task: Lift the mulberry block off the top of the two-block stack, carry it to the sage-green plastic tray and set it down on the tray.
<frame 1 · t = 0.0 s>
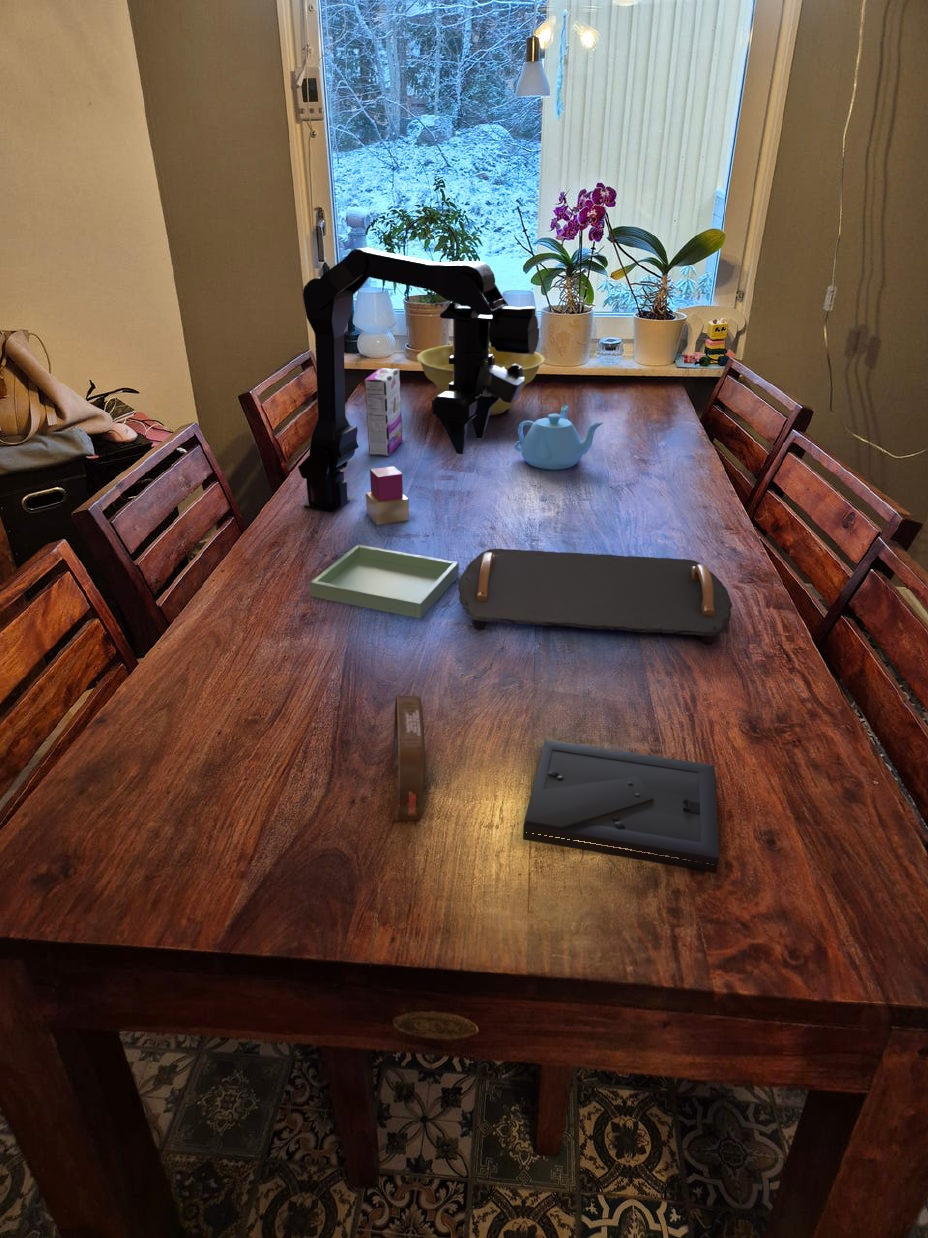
hand: (470, 445, 136), 15 cm above the table, tool pointing down, fingers open, 9 cm apart
mulberry block: (386, 495, 145), point 4 cm above the table, touching birch block
planter bowl: (479, 410, 212), on the table
serving tray: (590, 605, 119), on the table
teapot: (555, 463, 175), on the table
birch block: (387, 516, 147), on the table, touching mulberry block
candy bar box: (385, 449, 182), on the table
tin: (409, 788, 84), on the table
picture frame: (621, 809, 81), on the table
green tray: (386, 586, 123), on the table
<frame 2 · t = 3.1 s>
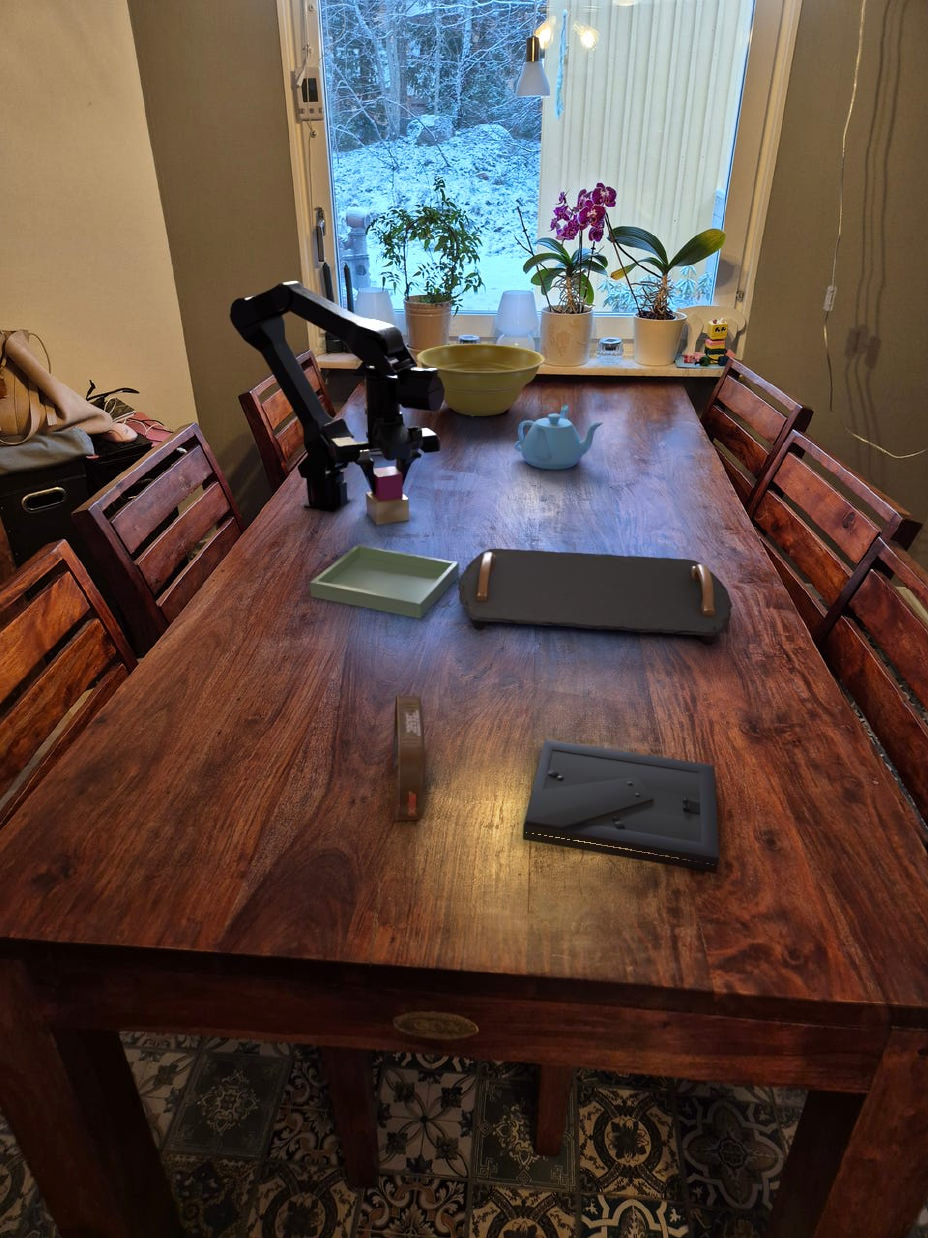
hand: (386, 492, 145), 5 cm above the table, tool pointing down, fingers closed on mulberry block, 4 cm apart
mulberry block: (386, 495, 145), point 4 cm above the table, touching birch block, gripper
everything else where it was.
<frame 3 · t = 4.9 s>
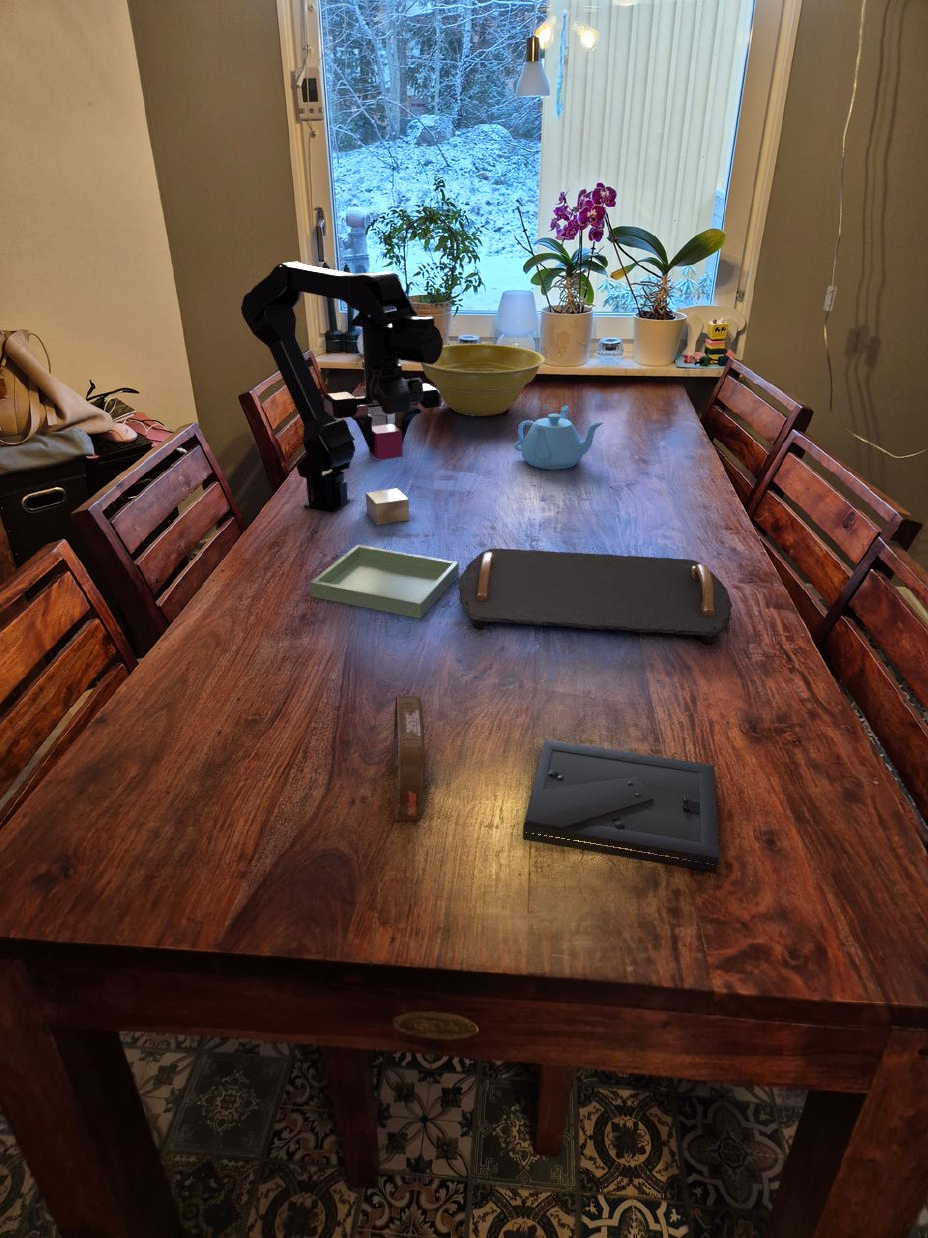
hand: (385, 451, 139), 13 cm above the table, tool pointing down, fingers closed on mulberry block, 4 cm apart
mulberry block: (385, 454, 139), point 12 cm above the table, touching gripper
birch block: (387, 516, 147), on the table
everything else where it was.
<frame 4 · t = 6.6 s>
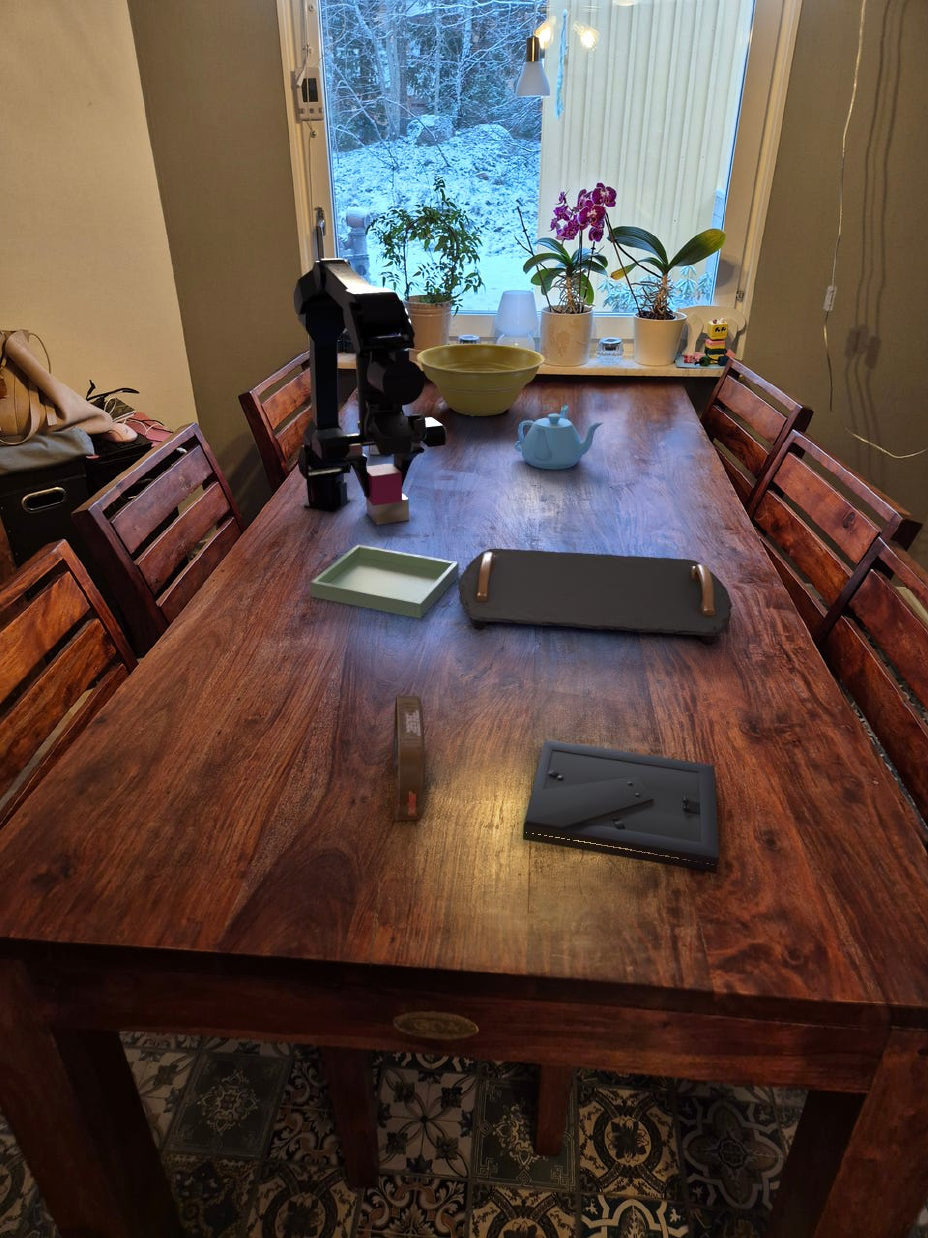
hand: (382, 494, 121), 13 cm above the table, tool pointing down, fingers closed on mulberry block, 4 cm apart
mulberry block: (383, 498, 121), point 12 cm above the table, touching gripper
everything else where it was.
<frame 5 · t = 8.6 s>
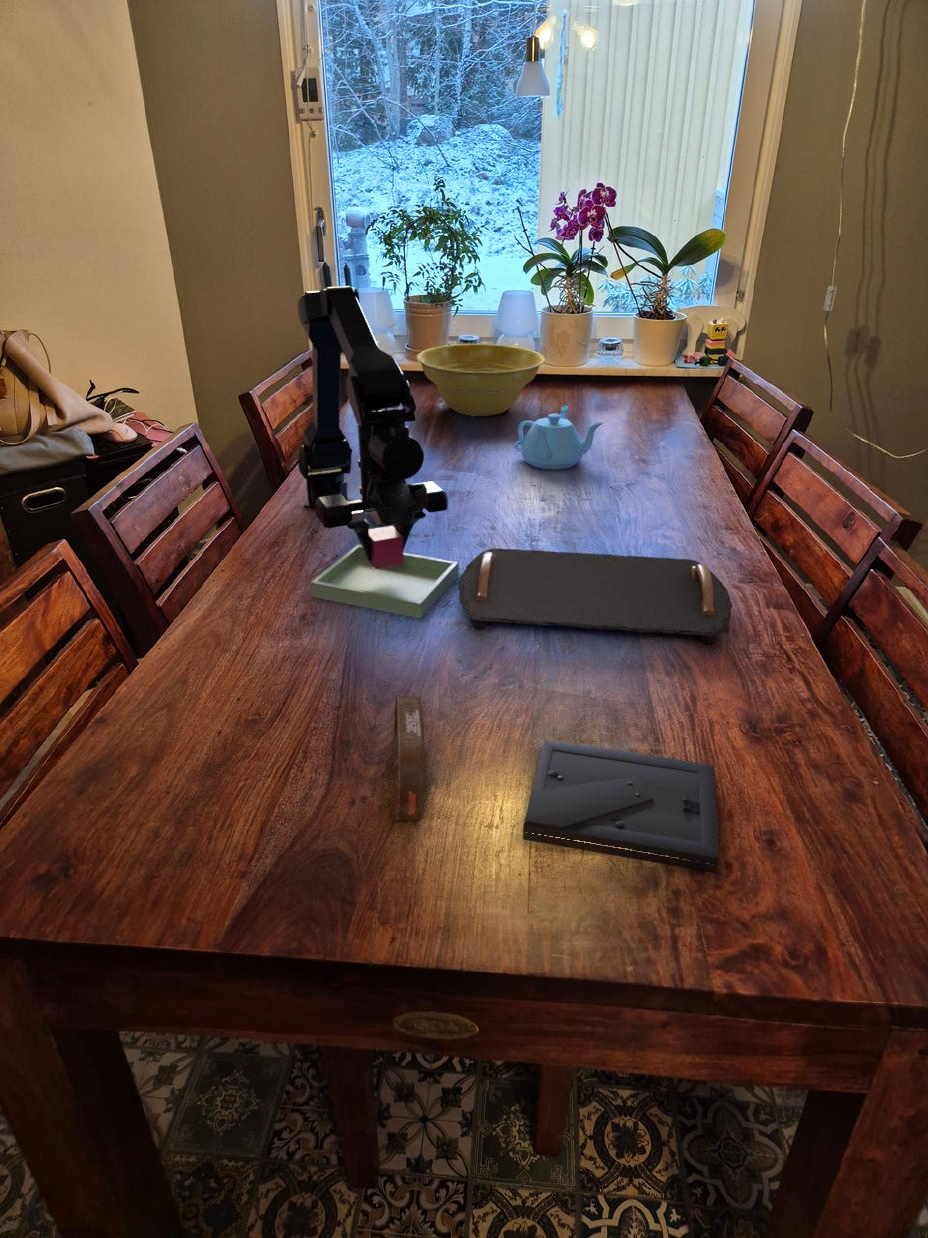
hand: (384, 557, 123), 4 cm above the table, tool pointing down, fingers closed on mulberry block, 4 cm apart
mulberry block: (384, 560, 123), point 3 cm above the table, touching gripper
everything else where it was.
when the fingers open (1 cm above the table, at t = 9.9 s): mulberry block stays where it is, resting on green tray.
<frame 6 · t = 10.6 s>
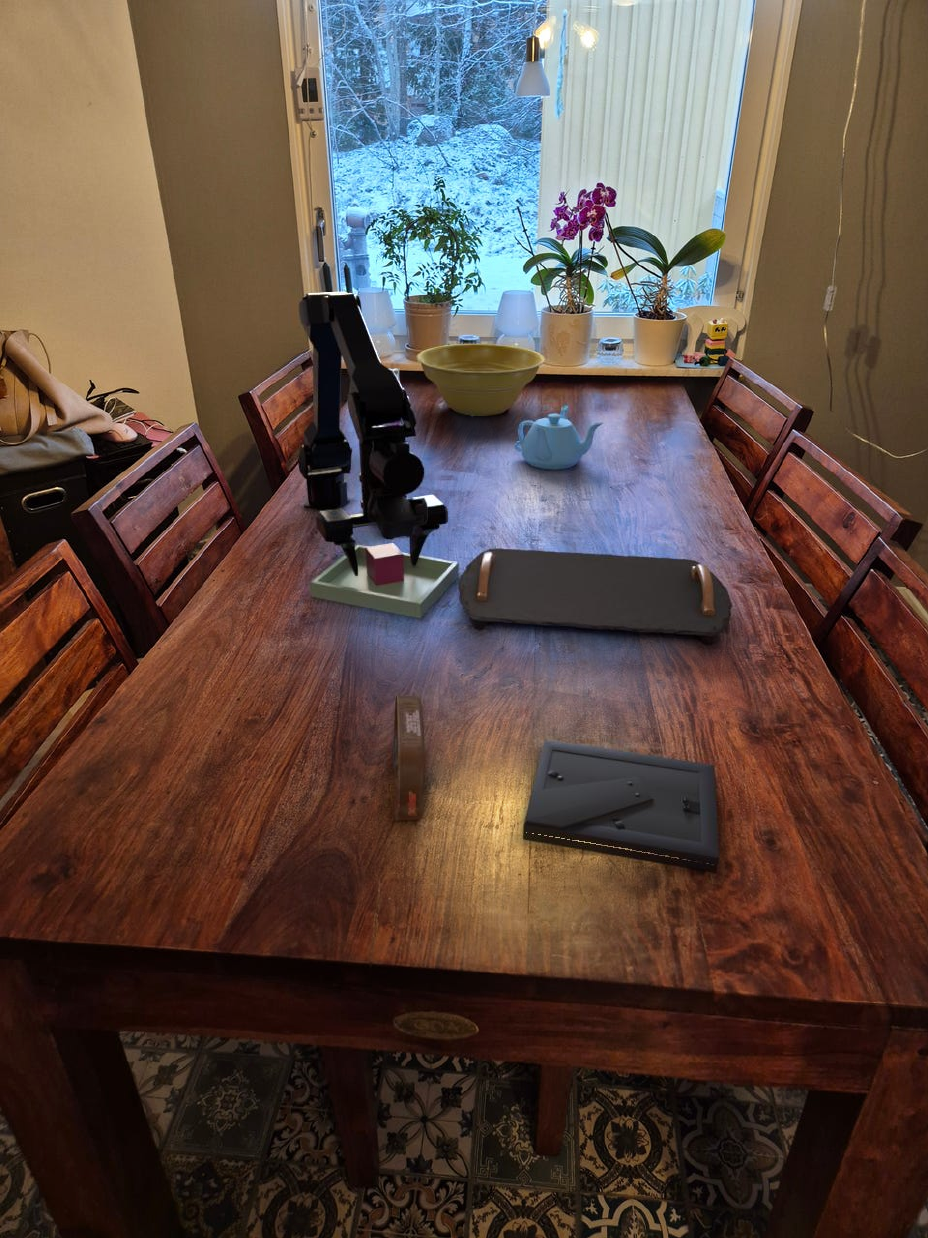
hand: (385, 570, 124), 2 cm above the table, tool pointing down, fingers open, 9 cm apart
mulberry block: (385, 577, 125), point 1 cm above the table, touching green tray
everything else where it was.
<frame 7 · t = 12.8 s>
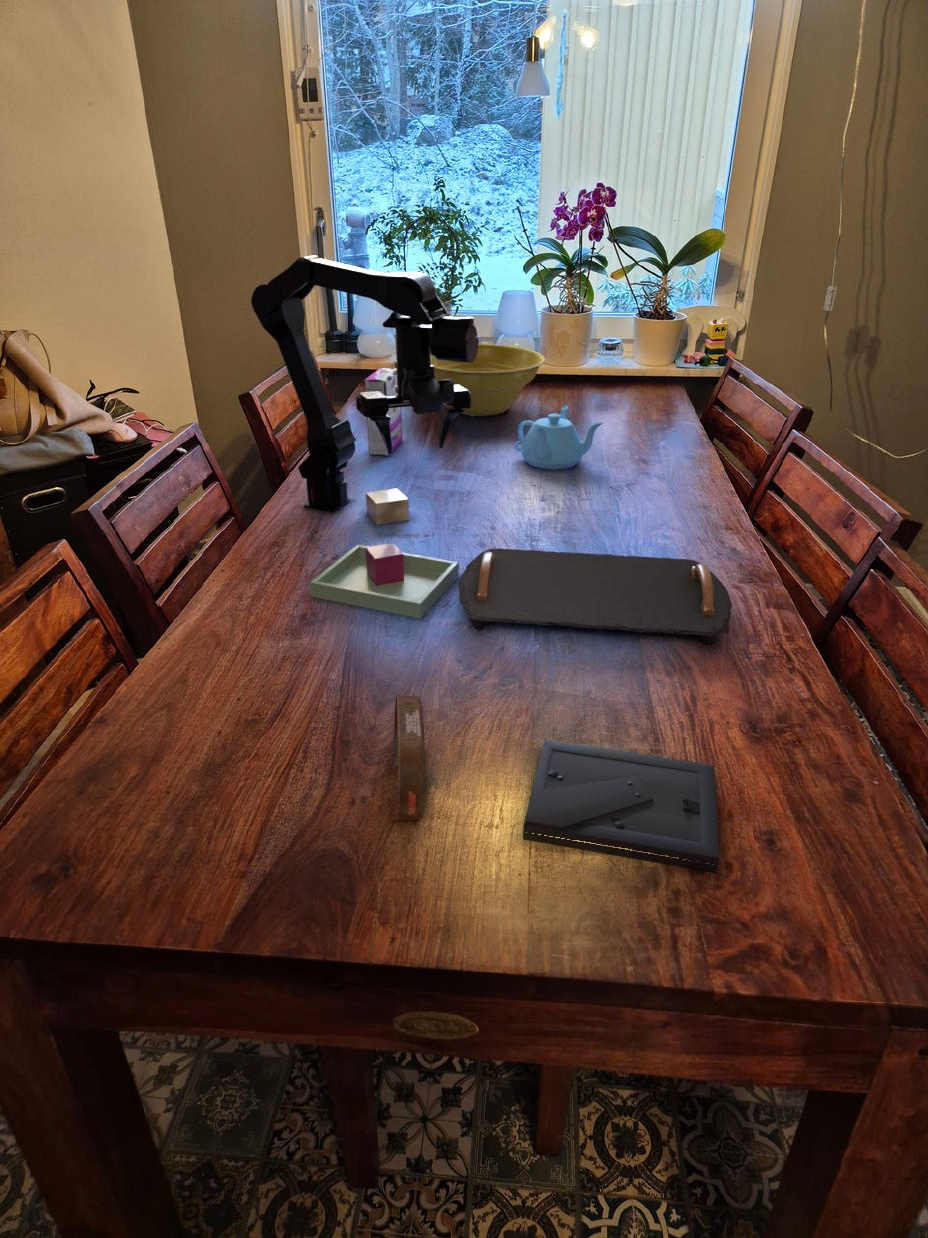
hand: (415, 450, 140), 13 cm above the table, tool pointing down, fingers open, 9 cm apart
nothing on the table moved.
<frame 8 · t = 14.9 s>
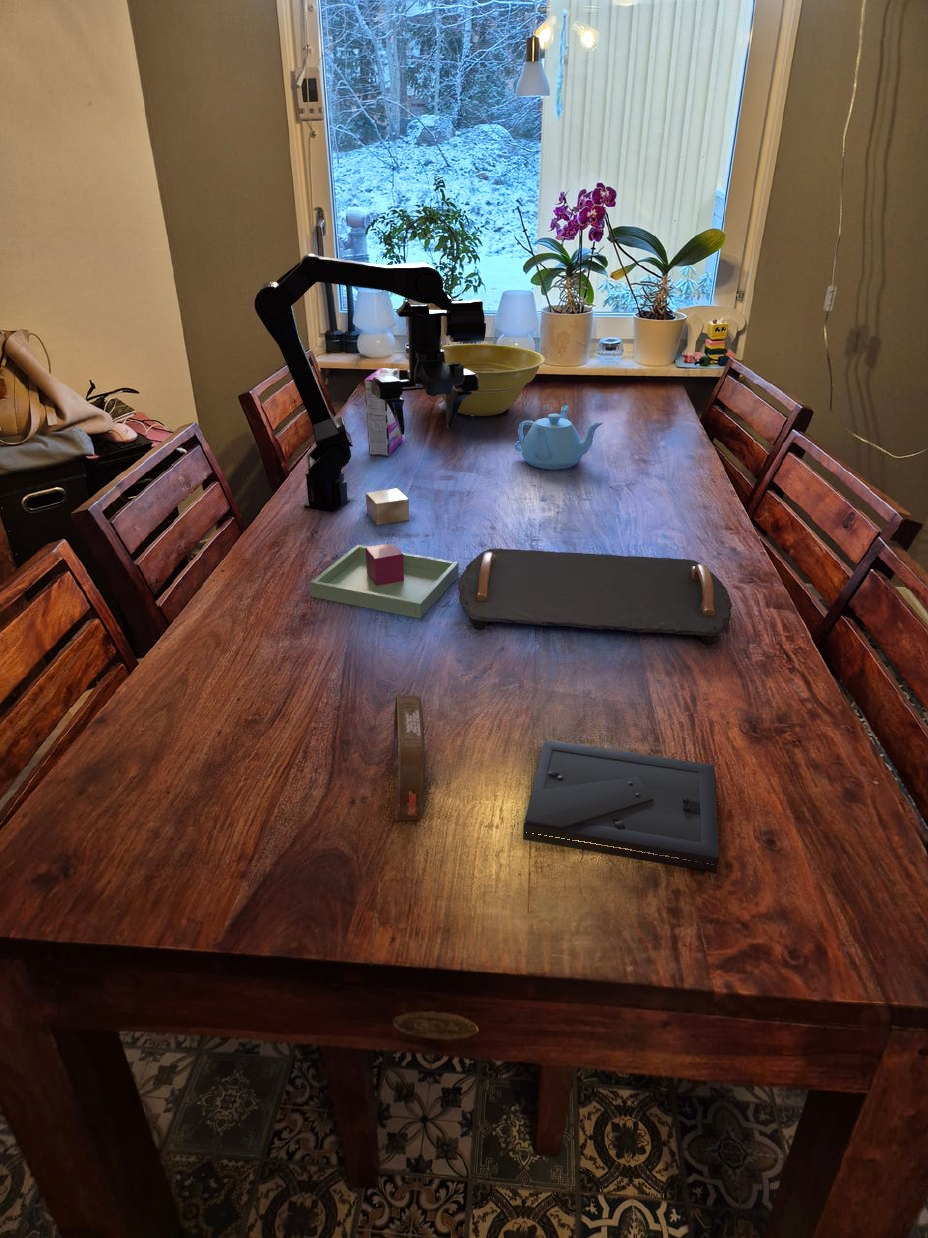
hand: (426, 431, 149), 13 cm above the table, tool pointing down, fingers open, 9 cm apart
nothing on the table moved.
at the end: mulberry block inside the target area in the green tray (1.8 cm from its centre), point 0.6 cm above the green tray's base; mulberry block tilted 0°; birch block moved 0.0 cm from its start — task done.
